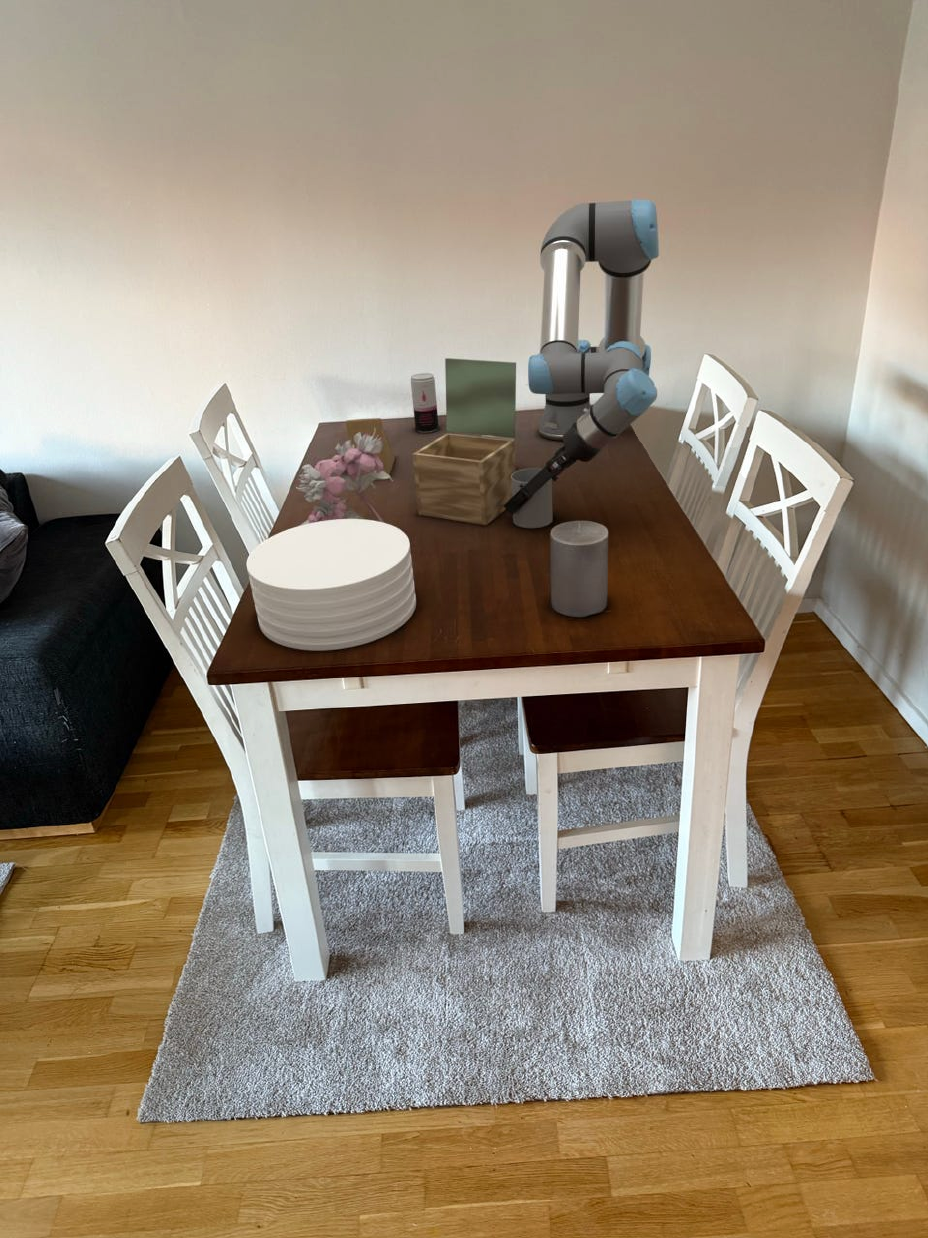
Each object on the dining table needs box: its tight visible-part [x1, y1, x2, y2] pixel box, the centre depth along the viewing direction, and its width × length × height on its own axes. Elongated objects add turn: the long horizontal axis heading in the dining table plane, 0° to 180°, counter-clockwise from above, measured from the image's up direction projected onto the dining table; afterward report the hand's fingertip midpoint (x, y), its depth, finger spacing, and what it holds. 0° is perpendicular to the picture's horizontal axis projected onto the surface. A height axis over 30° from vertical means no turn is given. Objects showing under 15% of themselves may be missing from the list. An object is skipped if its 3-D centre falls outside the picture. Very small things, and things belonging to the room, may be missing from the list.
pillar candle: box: [549, 520, 609, 618], centre depth 147 cm, size 10×10×15 cm
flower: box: [295, 428, 394, 526], centre depth 176 cm, size 20×22×25 cm
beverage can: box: [410, 372, 439, 434], centre depth 240 cm, size 7×7×15 cm
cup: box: [511, 467, 553, 529], centre depth 181 cm, size 8×8×10 cm
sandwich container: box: [345, 417, 396, 476], centre depth 215 cm, size 9×15×15 cm, turn 177°
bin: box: [412, 432, 517, 526], centre depth 189 cm, size 15×17×14 cm
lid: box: [444, 357, 517, 439], centre depth 187 cm, size 16×17×1 cm
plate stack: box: [246, 518, 417, 652], centre depth 152 cm, size 28×28×12 cm
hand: (518, 501), depth 183 cm, fingers closed on cup, 8 cm apart
